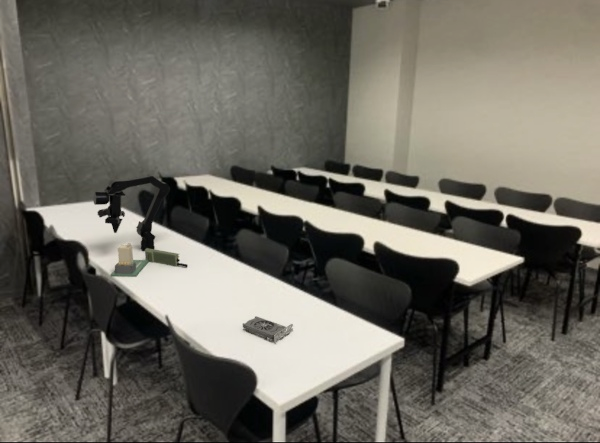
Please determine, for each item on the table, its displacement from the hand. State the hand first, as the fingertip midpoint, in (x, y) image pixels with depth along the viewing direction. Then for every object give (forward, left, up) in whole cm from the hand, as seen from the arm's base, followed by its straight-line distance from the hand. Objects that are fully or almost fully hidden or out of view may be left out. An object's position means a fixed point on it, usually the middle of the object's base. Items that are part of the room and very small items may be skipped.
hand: (115, 232), depth 243 cm
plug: (-7, +28, -11) cm, 31 cm away
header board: (-8, +23, -12) cm, 27 cm away
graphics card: (-61, +99, -13) cm, 117 cm away
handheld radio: (-25, +20, -13) cm, 35 cm away
